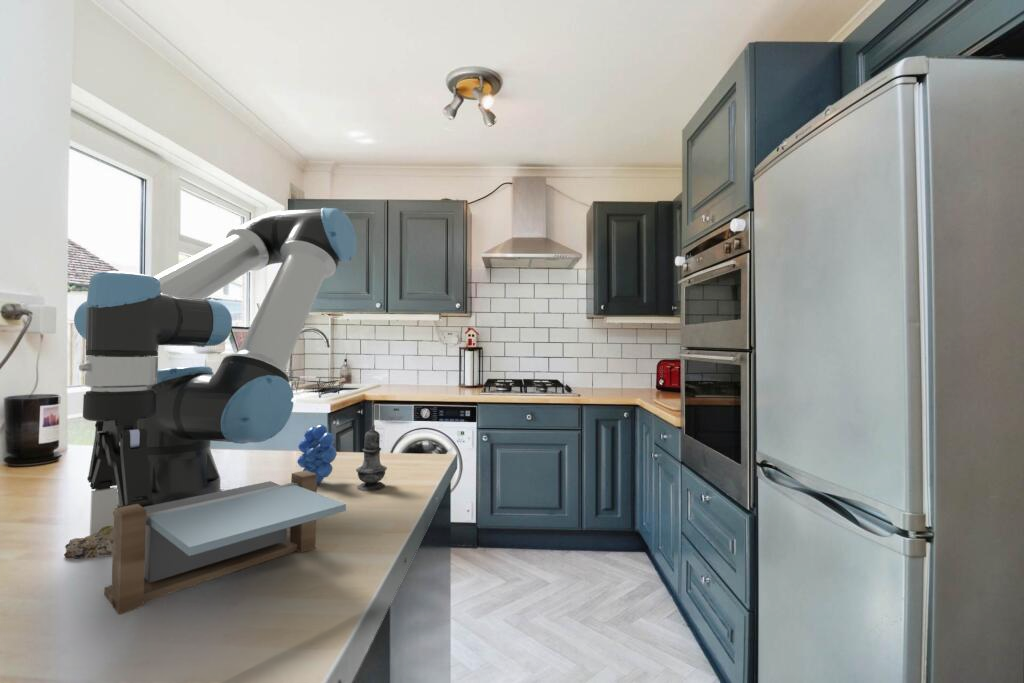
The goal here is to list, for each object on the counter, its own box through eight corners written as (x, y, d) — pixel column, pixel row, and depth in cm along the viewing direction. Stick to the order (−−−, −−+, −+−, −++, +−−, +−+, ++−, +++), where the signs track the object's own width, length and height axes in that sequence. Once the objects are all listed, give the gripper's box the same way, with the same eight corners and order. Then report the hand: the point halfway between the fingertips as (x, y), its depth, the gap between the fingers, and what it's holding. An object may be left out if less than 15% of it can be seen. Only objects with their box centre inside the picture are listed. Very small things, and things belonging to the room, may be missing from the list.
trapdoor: (130, 570, 54) (132, 503, 54) (272, 530, 67) (274, 475, 67) (187, 630, 43) (189, 545, 43) (344, 568, 55) (346, 502, 56)
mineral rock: (165, 513, 71) (168, 513, 65) (166, 544, 70) (169, 546, 64) (67, 532, 64) (61, 534, 58) (67, 566, 63) (60, 571, 57)
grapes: (352, 484, 94) (353, 424, 95) (321, 492, 89) (322, 428, 89) (319, 474, 101) (321, 418, 102) (289, 481, 96) (290, 422, 96)
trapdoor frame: (104, 594, 51) (107, 502, 52) (293, 536, 68) (294, 466, 68) (119, 614, 48) (122, 514, 48) (315, 547, 64) (316, 474, 64)
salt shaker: (369, 493, 89) (371, 429, 89) (349, 488, 92) (350, 426, 92) (392, 485, 94) (394, 425, 94) (372, 481, 97) (373, 422, 97)
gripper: (64, 384, 68) (58, 533, 67) (109, 396, 52) (101, 589, 52) (130, 382, 74) (125, 519, 73) (187, 393, 58) (181, 566, 58)
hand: (115, 548), depth 63 cm, fingers open, 13 cm apart
